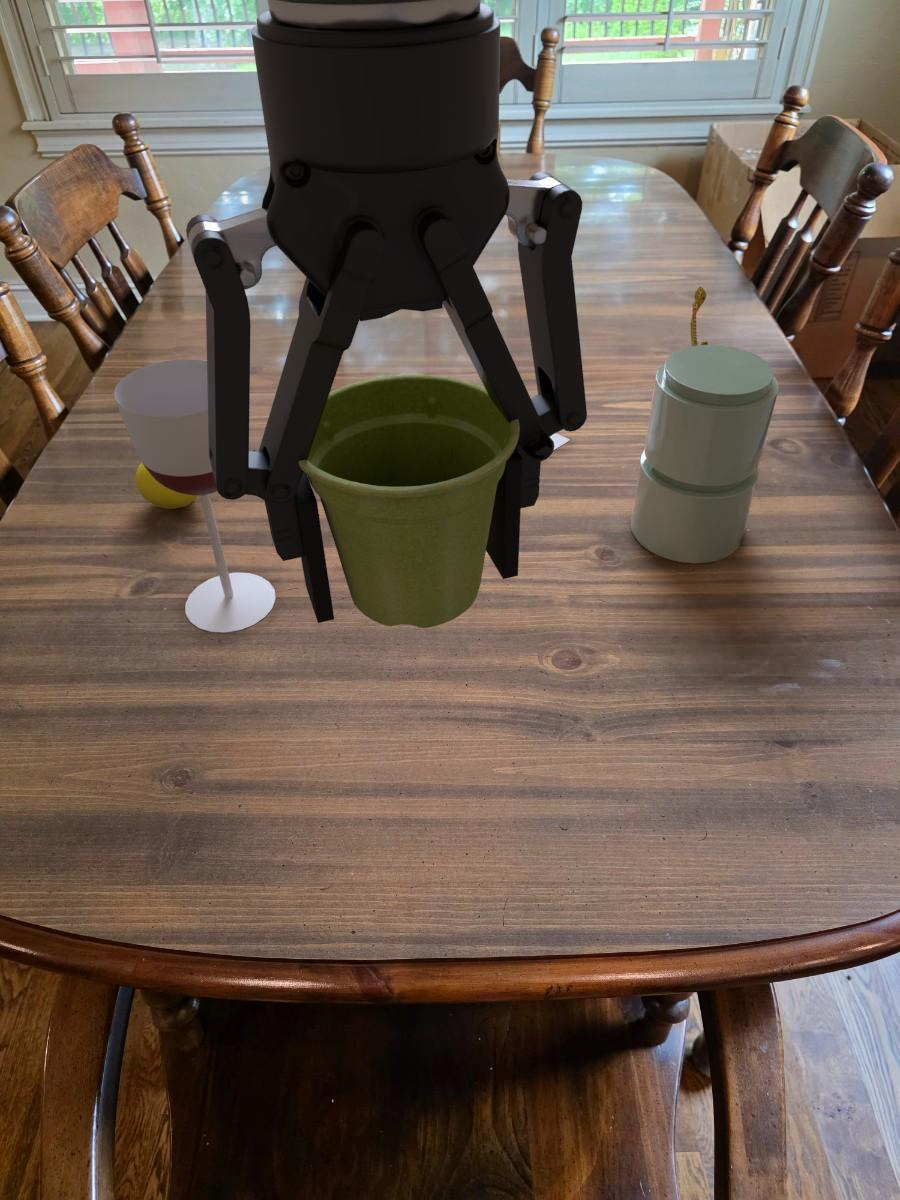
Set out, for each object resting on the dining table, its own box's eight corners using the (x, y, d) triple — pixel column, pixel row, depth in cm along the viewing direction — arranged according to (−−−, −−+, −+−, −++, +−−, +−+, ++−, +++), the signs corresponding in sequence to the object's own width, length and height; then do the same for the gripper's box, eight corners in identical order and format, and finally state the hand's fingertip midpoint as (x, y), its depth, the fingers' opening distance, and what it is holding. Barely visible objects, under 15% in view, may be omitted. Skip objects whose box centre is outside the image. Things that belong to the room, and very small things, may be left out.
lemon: (130, 516, 82) (114, 468, 79) (155, 484, 86) (141, 437, 83) (199, 524, 81) (186, 476, 78) (221, 491, 85) (210, 444, 82)
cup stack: (764, 549, 77) (811, 386, 66) (663, 573, 75) (695, 409, 64) (705, 488, 84) (739, 332, 73) (611, 509, 82) (632, 351, 71)
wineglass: (237, 649, 69) (181, 429, 56) (159, 611, 72) (88, 396, 59) (300, 591, 74) (263, 377, 60) (224, 558, 77) (172, 349, 64)
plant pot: (275, 585, 41) (243, 423, 36) (425, 506, 46) (418, 353, 40) (399, 691, 36) (385, 521, 30) (555, 590, 41) (568, 427, 35)
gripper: (632, -34, 31) (581, 493, 46) (5, 9, 26) (178, 581, 41) (752, -7, 26) (649, 580, 41) (-9, 53, 21) (195, 692, 36)
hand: (412, 580), depth 41 cm, fingers closed on plant pot, 8 cm apart
